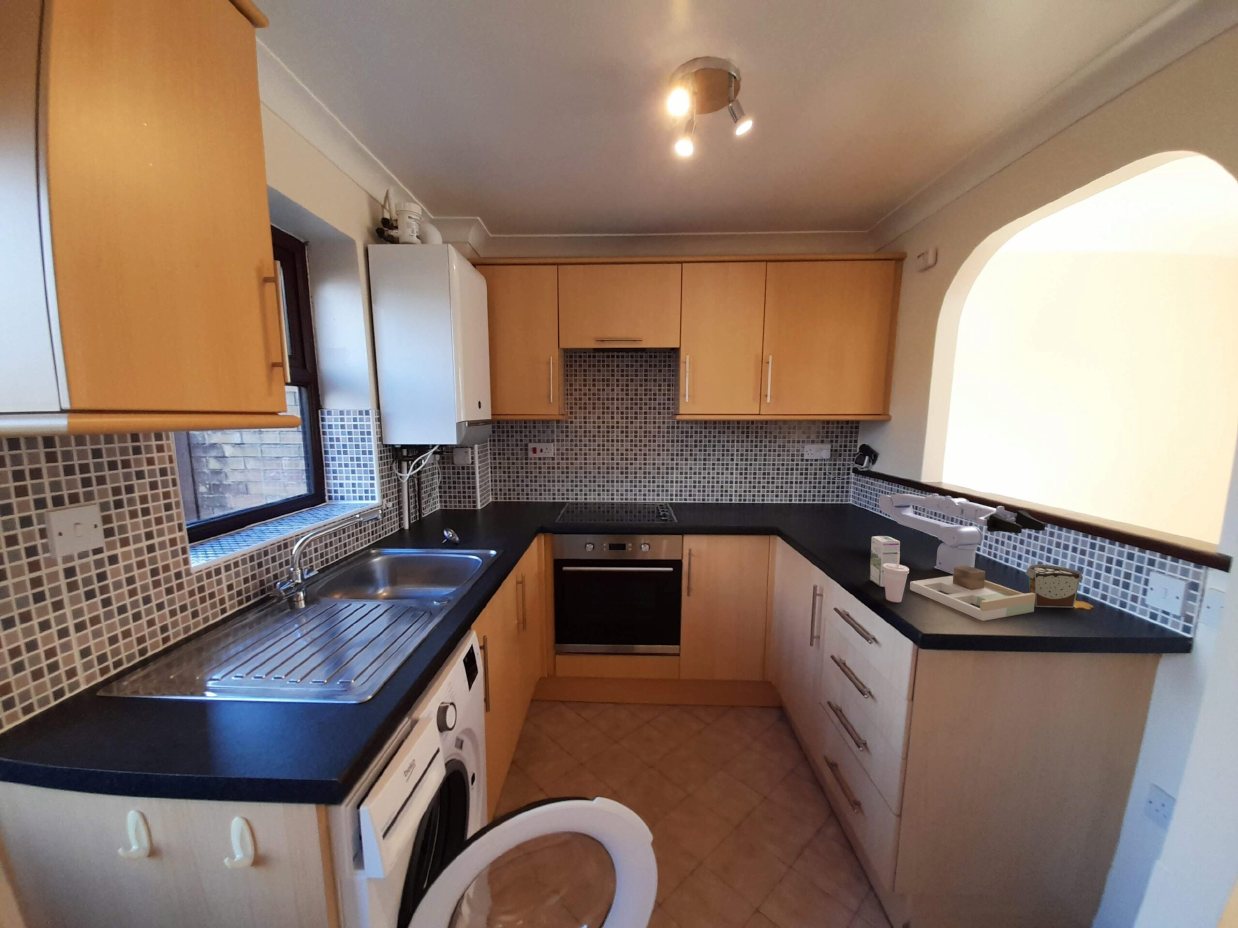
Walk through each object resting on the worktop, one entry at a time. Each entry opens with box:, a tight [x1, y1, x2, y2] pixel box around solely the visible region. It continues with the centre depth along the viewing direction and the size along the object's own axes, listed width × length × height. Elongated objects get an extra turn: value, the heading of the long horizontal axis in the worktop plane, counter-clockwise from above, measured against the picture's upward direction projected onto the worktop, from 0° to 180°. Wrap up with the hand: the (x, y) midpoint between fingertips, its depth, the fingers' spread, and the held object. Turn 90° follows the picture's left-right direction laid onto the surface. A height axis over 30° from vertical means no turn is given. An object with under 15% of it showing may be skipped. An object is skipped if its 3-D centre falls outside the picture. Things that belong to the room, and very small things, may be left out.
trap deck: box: [909, 575, 1035, 622], centre depth 116 cm, size 20×18×5 cm
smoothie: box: [882, 552, 910, 603], centre depth 117 cm, size 6×6×14 cm
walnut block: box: [952, 566, 986, 590], centre depth 120 cm, size 5×5×5 cm
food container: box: [1025, 563, 1084, 609], centre depth 114 cm, size 12×6×10 cm, turn 84°
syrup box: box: [869, 535, 901, 588], centre depth 128 cm, size 6×6×14 cm
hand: (1032, 528), depth 115 cm, fingers open, 7 cm apart
